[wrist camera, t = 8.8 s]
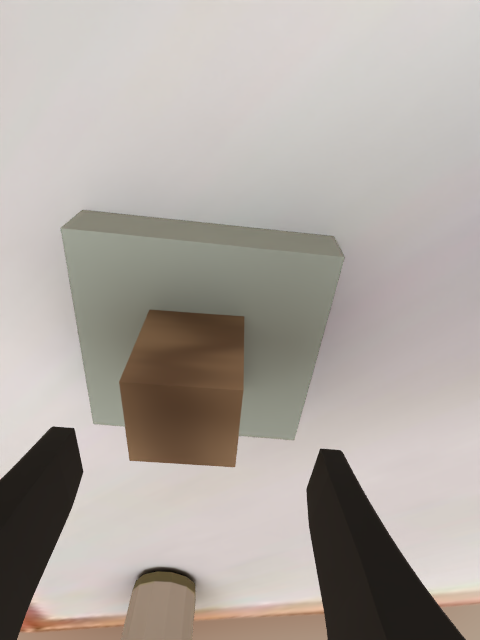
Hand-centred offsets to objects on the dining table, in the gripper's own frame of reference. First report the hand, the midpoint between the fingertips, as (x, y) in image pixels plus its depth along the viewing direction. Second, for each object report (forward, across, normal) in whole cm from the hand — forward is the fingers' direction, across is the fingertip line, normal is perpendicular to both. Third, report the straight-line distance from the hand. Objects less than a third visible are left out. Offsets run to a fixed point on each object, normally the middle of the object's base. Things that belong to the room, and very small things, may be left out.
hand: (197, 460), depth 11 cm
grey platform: (+11, +1, +2) cm, 11 cm away
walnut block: (+8, +1, +2) cm, 8 cm away
